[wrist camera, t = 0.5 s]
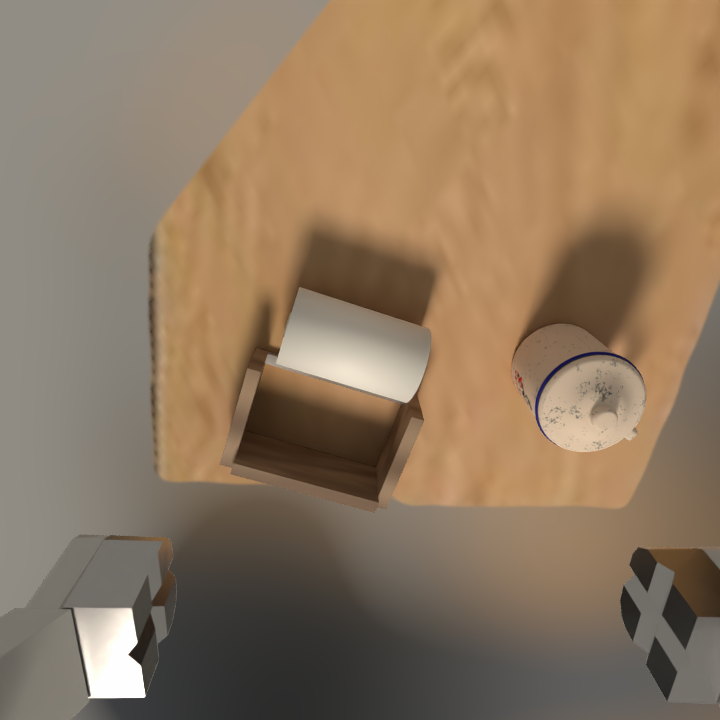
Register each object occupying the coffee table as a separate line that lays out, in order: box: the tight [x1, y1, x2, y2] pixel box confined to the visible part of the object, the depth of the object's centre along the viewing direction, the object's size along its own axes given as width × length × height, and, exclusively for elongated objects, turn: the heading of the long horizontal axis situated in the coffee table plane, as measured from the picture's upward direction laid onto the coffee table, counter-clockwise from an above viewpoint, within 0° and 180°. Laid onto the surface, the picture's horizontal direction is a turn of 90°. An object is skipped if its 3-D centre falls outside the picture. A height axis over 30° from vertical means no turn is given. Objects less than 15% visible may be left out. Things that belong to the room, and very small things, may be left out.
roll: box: [276, 287, 431, 403], centre depth 49 cm, size 12×7×7 cm, turn 71°
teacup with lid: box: [511, 324, 646, 452], centre depth 48 cm, size 12×9×12 cm
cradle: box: [220, 348, 424, 512], centre depth 52 cm, size 10×16×6 cm, turn 71°
